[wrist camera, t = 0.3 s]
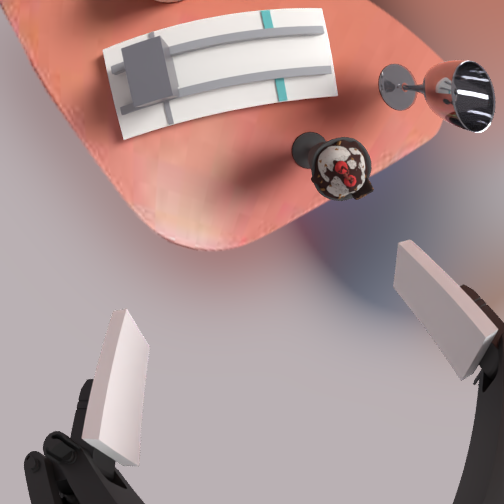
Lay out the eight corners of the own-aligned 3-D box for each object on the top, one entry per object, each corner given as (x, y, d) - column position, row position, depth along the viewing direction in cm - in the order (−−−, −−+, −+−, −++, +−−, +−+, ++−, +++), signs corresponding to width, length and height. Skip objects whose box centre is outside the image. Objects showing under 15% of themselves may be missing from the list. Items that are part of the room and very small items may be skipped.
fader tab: (139, 58, 25) (121, 48, 18) (170, 49, 25) (160, 35, 18) (150, 105, 28) (134, 107, 21) (181, 96, 28) (172, 95, 22)
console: (107, 52, 25) (98, 48, 22) (316, 12, 26) (326, 5, 23) (128, 137, 31) (120, 141, 28) (331, 95, 32) (343, 96, 29)
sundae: (279, 132, 34) (323, 155, 21) (328, 121, 34) (394, 141, 21) (290, 179, 37) (335, 228, 25) (336, 168, 37) (398, 209, 24)
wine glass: (396, 123, 35) (471, 147, 22) (366, 79, 31) (441, 82, 18) (426, 94, 33) (502, 109, 20) (399, 51, 29) (476, 48, 16)
